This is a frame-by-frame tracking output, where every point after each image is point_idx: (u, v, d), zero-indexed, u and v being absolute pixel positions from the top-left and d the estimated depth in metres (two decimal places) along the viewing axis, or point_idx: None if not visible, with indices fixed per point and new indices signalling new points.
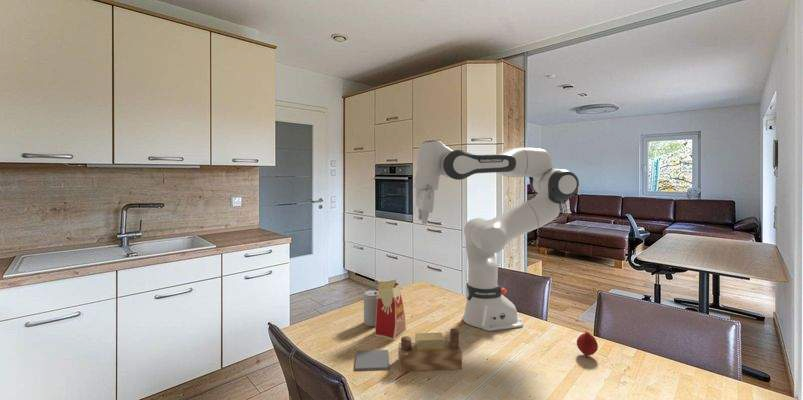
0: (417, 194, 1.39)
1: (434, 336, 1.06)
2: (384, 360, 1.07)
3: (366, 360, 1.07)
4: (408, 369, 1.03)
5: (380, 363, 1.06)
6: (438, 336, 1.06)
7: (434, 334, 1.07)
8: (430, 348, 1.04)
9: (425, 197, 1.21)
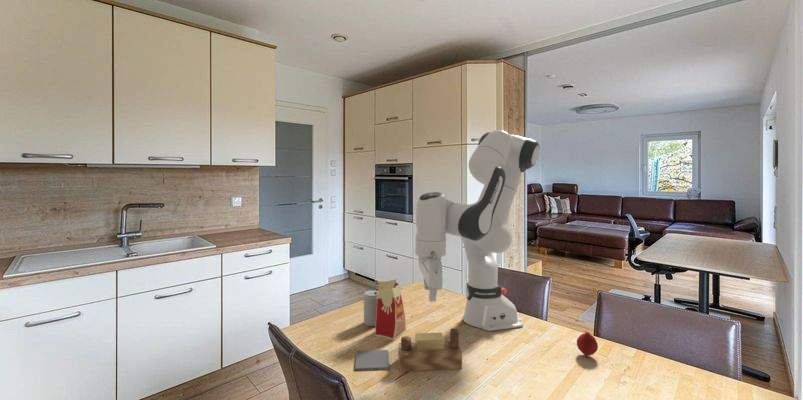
0: (420, 257, 1.12)
1: (434, 336, 1.06)
2: (384, 360, 1.07)
3: (366, 360, 1.07)
4: (408, 369, 1.03)
5: (380, 363, 1.06)
6: (438, 336, 1.06)
7: (434, 334, 1.07)
8: (430, 348, 1.04)
9: (431, 271, 0.95)
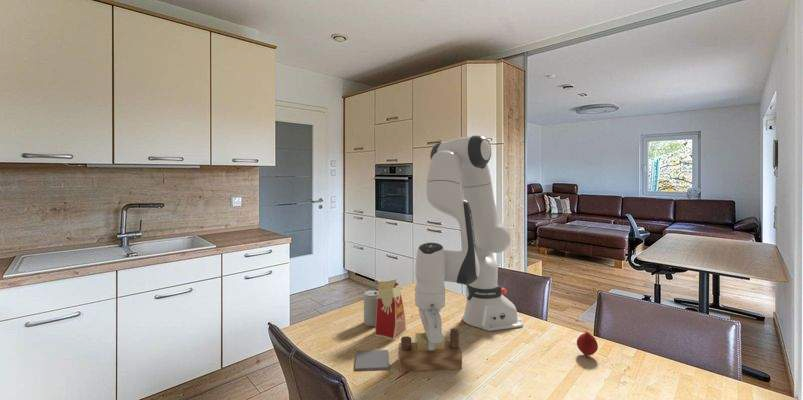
0: None
1: None
2: (384, 360, 1.07)
3: (366, 360, 1.07)
4: (408, 369, 1.03)
5: (380, 363, 1.06)
6: None
7: None
8: None
9: (430, 327, 0.96)
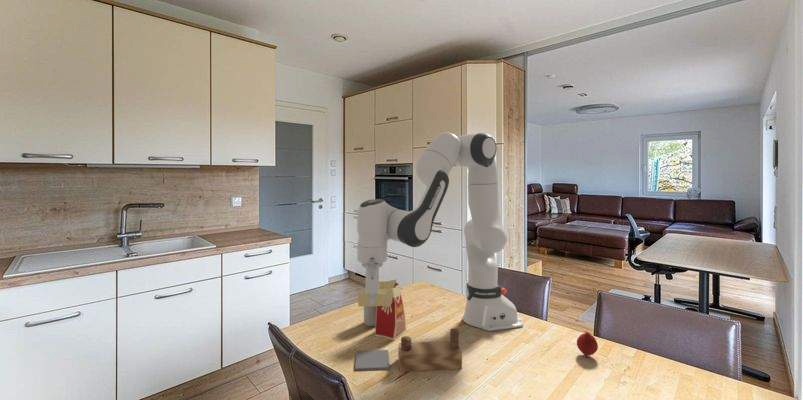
0: None
1: None
2: (384, 360, 1.07)
3: (366, 360, 1.07)
4: (408, 369, 1.03)
5: (380, 363, 1.06)
6: (380, 292, 1.06)
7: None
8: None
9: (367, 278, 0.96)
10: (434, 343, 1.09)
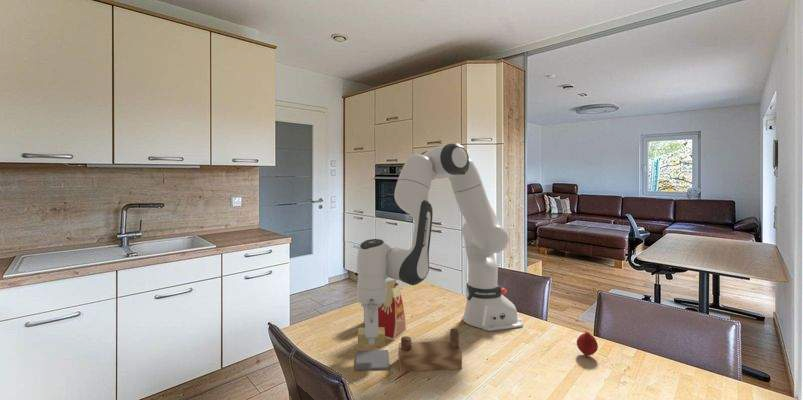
0: None
1: None
2: (384, 360, 1.07)
3: (366, 360, 1.07)
4: (408, 369, 1.03)
5: (380, 363, 1.06)
6: (379, 331, 1.07)
7: None
8: None
9: (366, 321, 0.97)
10: (434, 343, 1.09)
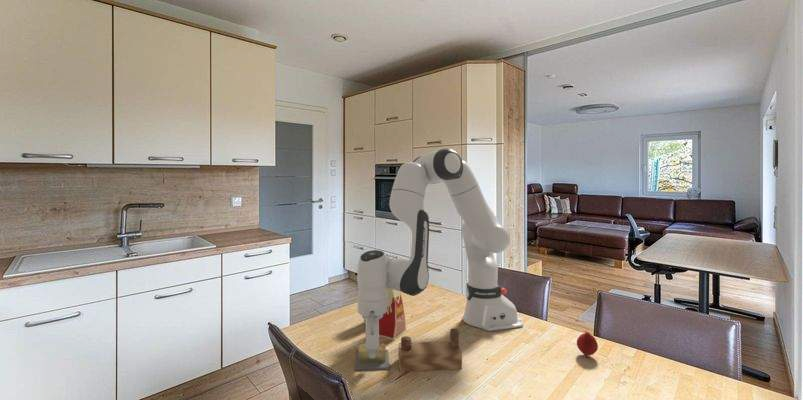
0: None
1: None
2: None
3: None
4: (408, 369, 1.03)
5: (380, 363, 1.06)
6: (380, 347, 1.08)
7: None
8: (372, 359, 1.06)
9: (367, 333, 0.98)
10: (434, 343, 1.09)
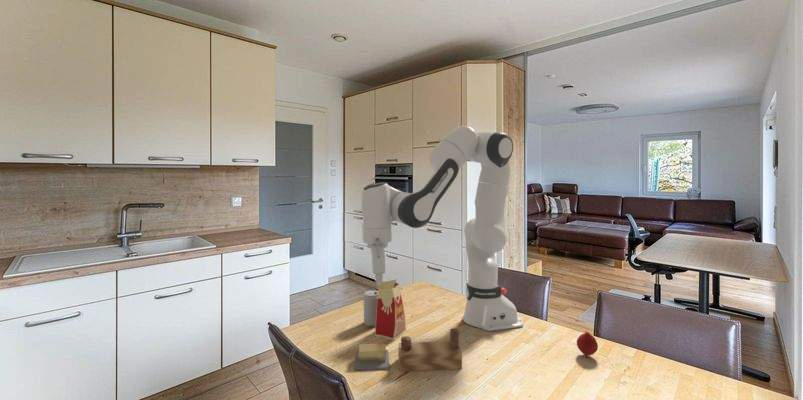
0: None
1: (377, 347, 1.08)
2: None
3: None
4: (408, 369, 1.03)
5: (380, 363, 1.06)
6: (380, 347, 1.08)
7: (377, 345, 1.09)
8: (372, 359, 1.06)
9: (373, 257, 1.00)
10: (434, 343, 1.09)
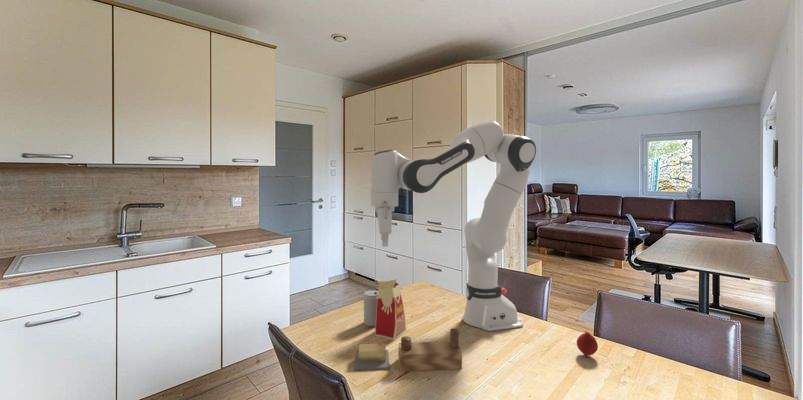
0: (378, 211, 1.22)
1: (377, 347, 1.08)
2: None
3: None
4: (408, 369, 1.03)
5: (380, 363, 1.06)
6: (380, 347, 1.08)
7: (377, 345, 1.09)
8: (372, 359, 1.06)
9: (381, 217, 1.05)
10: (434, 343, 1.09)
